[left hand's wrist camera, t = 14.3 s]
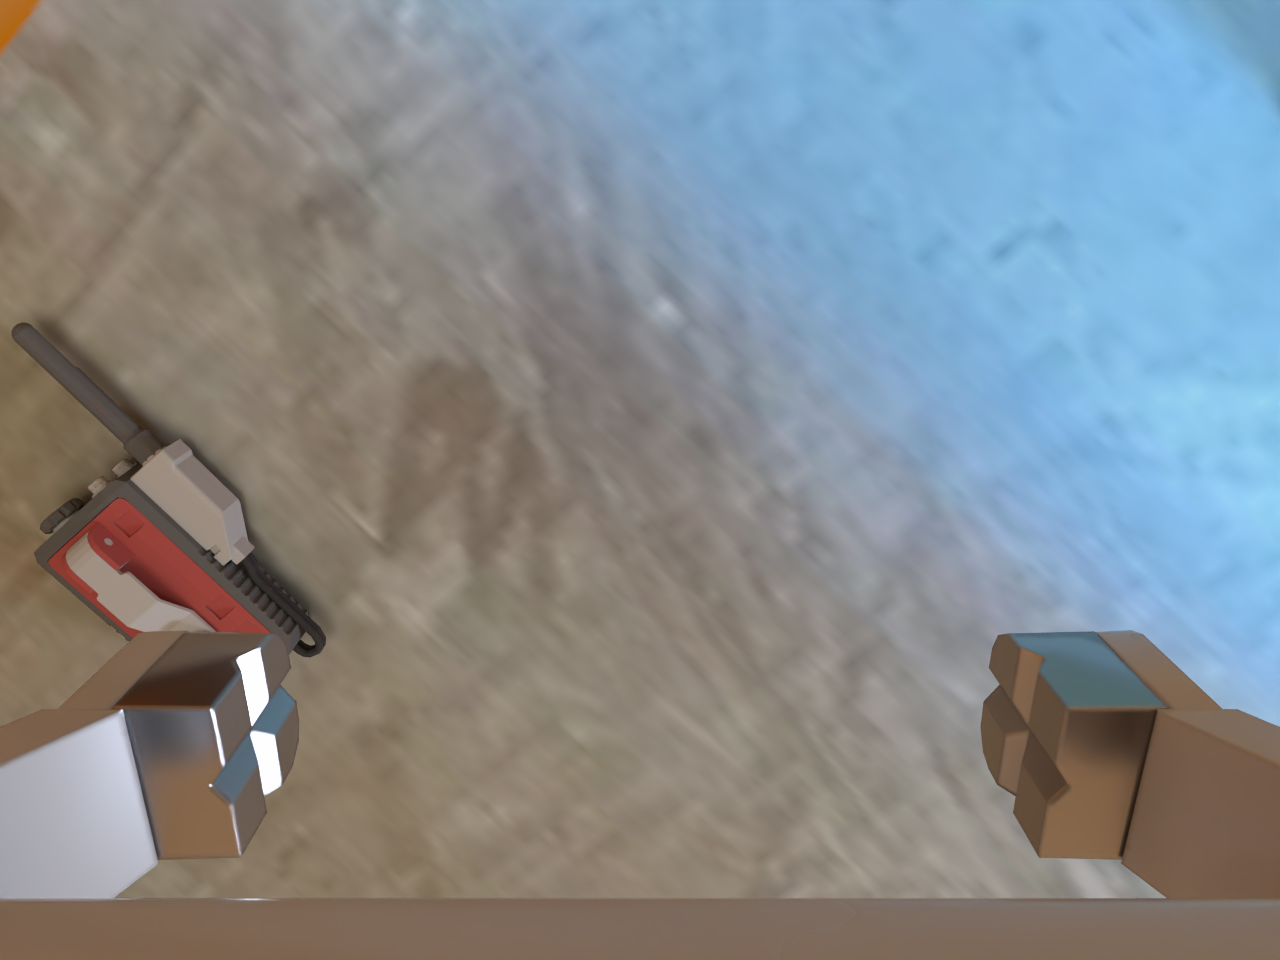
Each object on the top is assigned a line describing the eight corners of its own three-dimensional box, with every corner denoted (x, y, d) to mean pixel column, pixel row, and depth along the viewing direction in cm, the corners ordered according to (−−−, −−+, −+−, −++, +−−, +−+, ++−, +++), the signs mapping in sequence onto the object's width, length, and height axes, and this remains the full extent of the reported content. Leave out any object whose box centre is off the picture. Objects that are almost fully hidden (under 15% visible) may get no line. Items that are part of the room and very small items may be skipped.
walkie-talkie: (365, 609, 46) (50, 305, 40) (337, 654, 41) (-18, 322, 36) (248, 701, 48) (-67, 422, 42) (211, 753, 43) (-144, 451, 38)
